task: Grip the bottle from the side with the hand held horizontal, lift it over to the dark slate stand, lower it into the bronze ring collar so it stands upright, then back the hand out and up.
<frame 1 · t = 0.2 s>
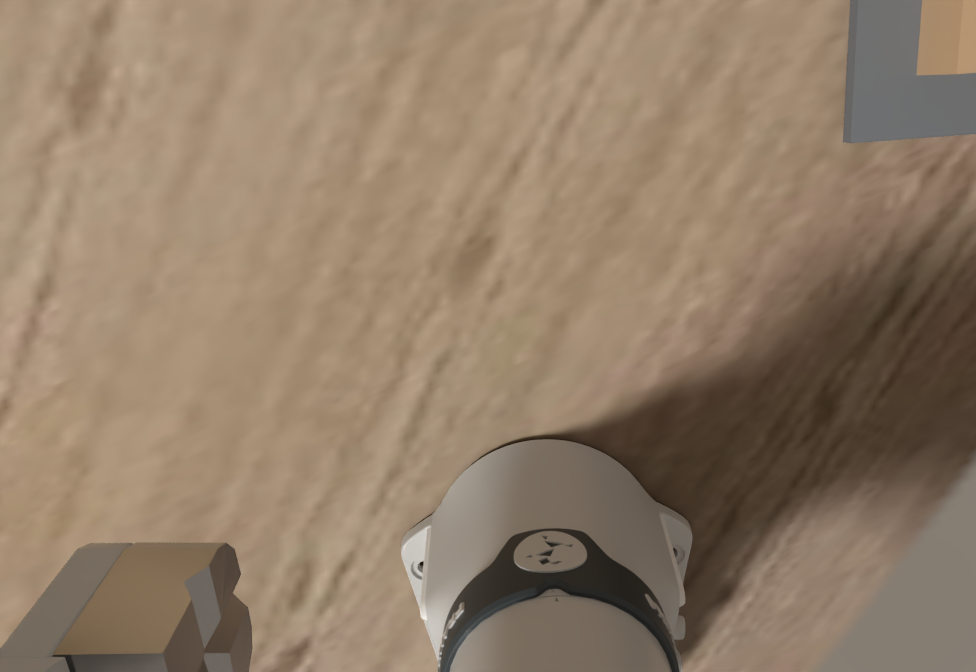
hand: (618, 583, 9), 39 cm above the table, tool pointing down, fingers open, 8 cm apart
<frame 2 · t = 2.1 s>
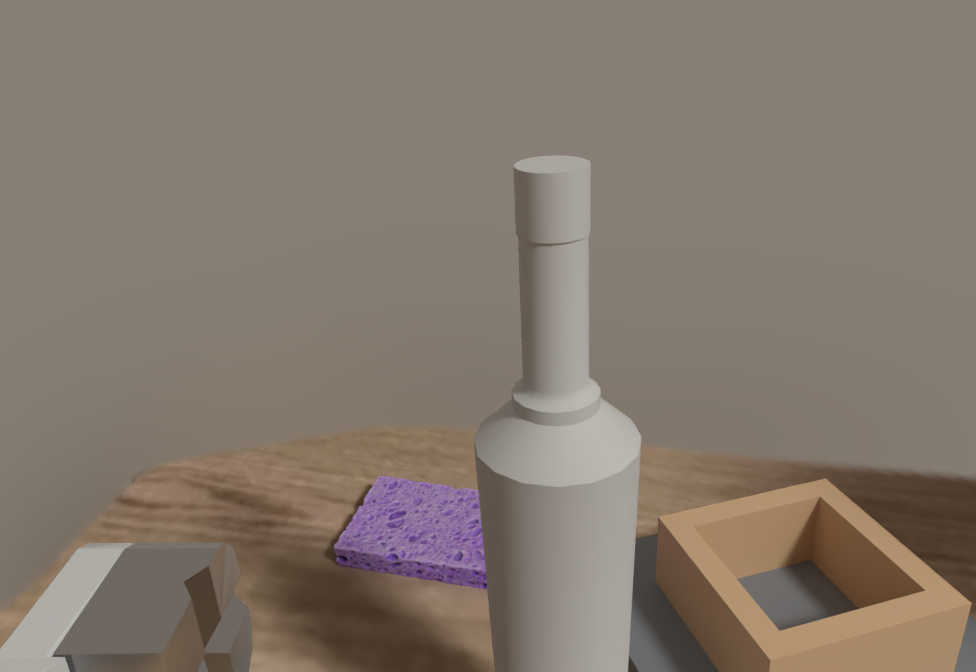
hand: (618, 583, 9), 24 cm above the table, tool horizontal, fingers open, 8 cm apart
sponges: (460, 551, 47), on the table
collar stand: (790, 639, 38), on the table
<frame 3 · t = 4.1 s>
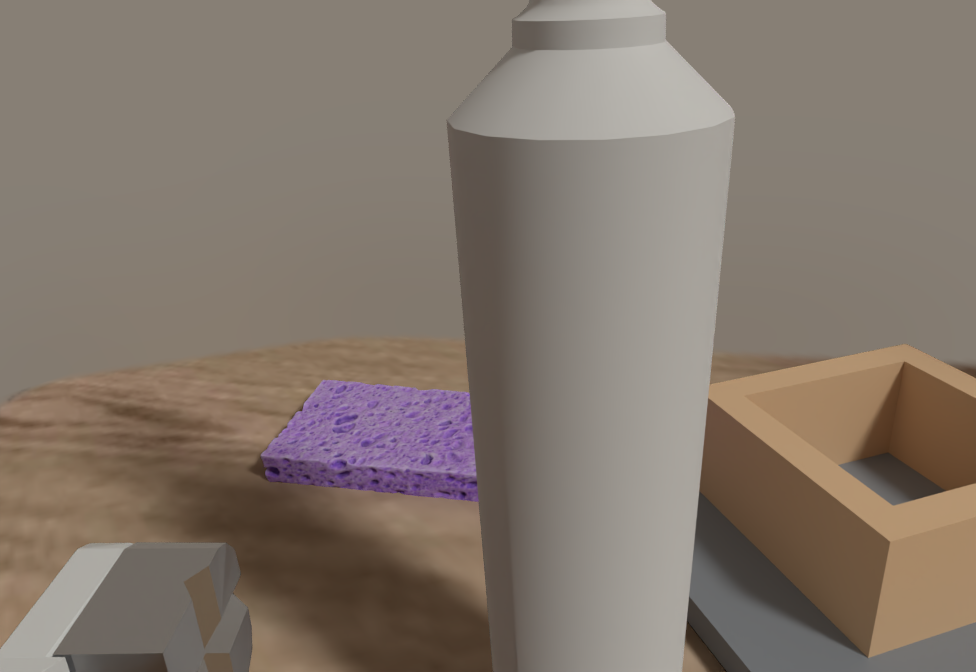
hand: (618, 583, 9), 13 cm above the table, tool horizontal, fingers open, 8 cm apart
sponges: (429, 463, 36), on the table
collar stand: (876, 546, 28), on the table
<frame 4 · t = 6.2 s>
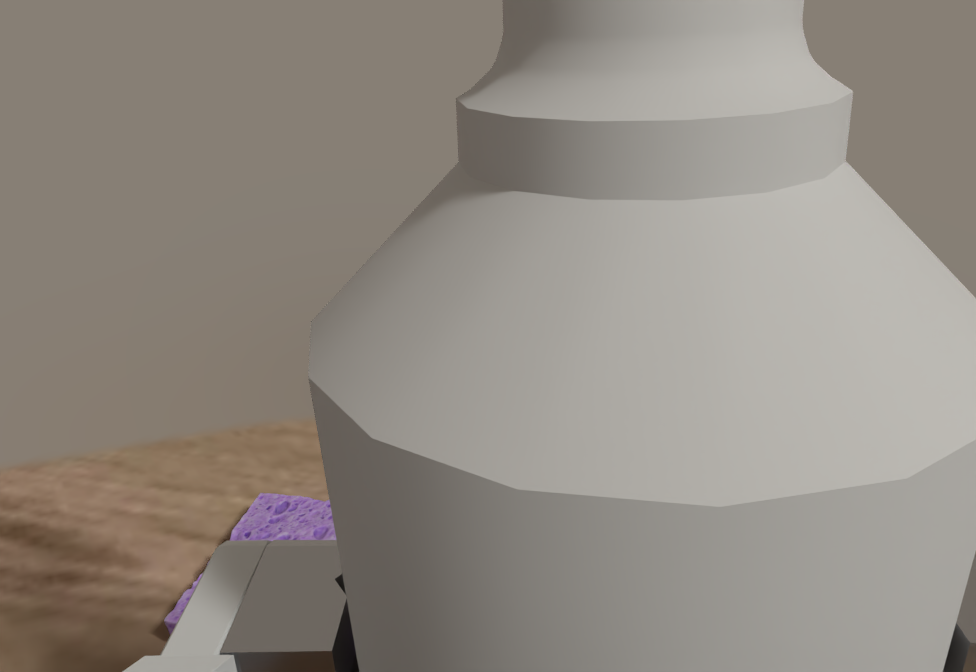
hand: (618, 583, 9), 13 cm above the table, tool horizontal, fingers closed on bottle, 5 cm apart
sponges: (393, 614, 28), on the table
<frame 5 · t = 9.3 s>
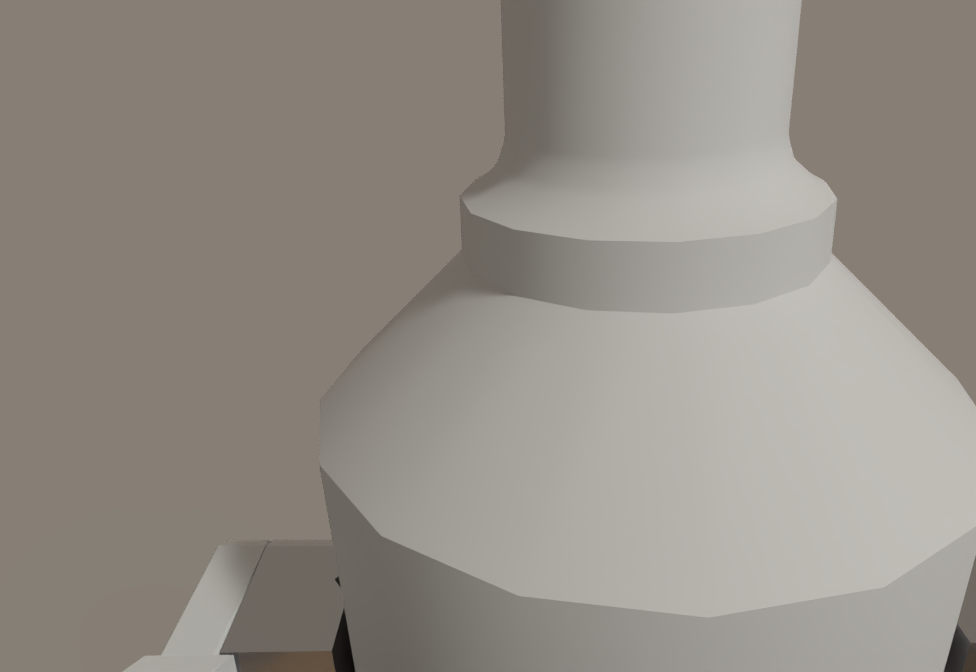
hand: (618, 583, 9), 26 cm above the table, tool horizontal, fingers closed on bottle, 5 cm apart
when the fingers open (15 cm above the table, at t = 12.5 s): bottle stays where it is, resting on collar stand.
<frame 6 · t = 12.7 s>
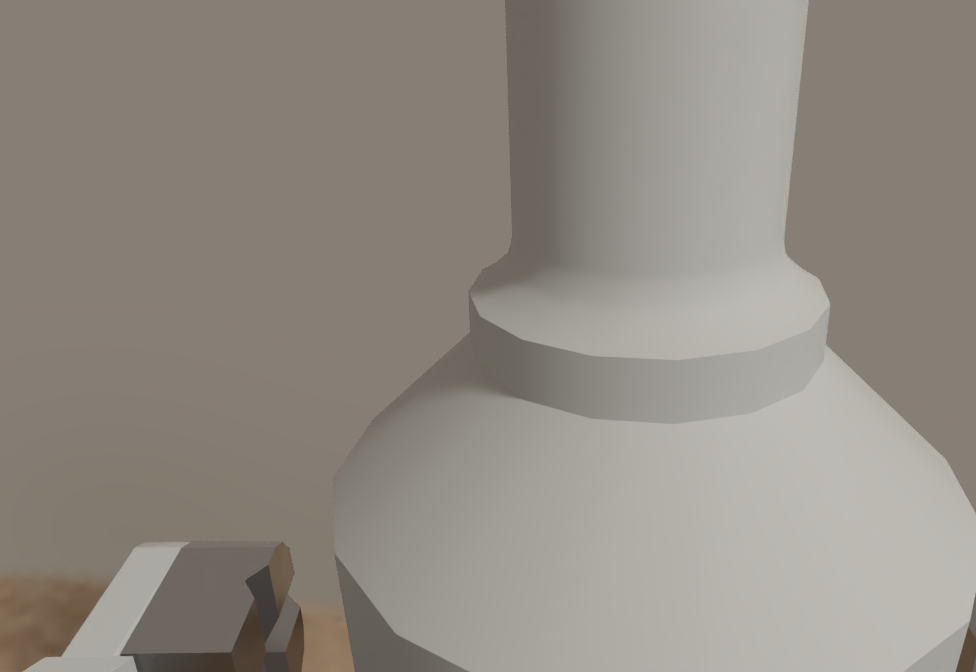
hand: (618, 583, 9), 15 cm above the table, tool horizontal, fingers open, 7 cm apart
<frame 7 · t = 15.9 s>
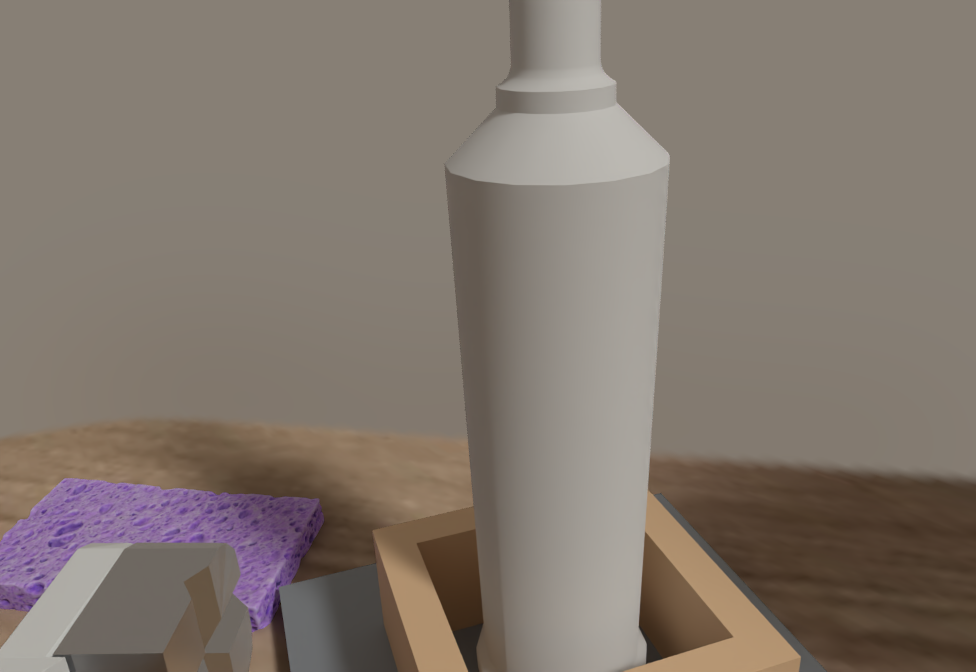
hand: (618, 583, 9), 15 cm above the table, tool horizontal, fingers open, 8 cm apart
sponges: (159, 573, 34), on the table
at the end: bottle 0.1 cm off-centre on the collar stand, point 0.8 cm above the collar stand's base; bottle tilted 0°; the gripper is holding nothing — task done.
